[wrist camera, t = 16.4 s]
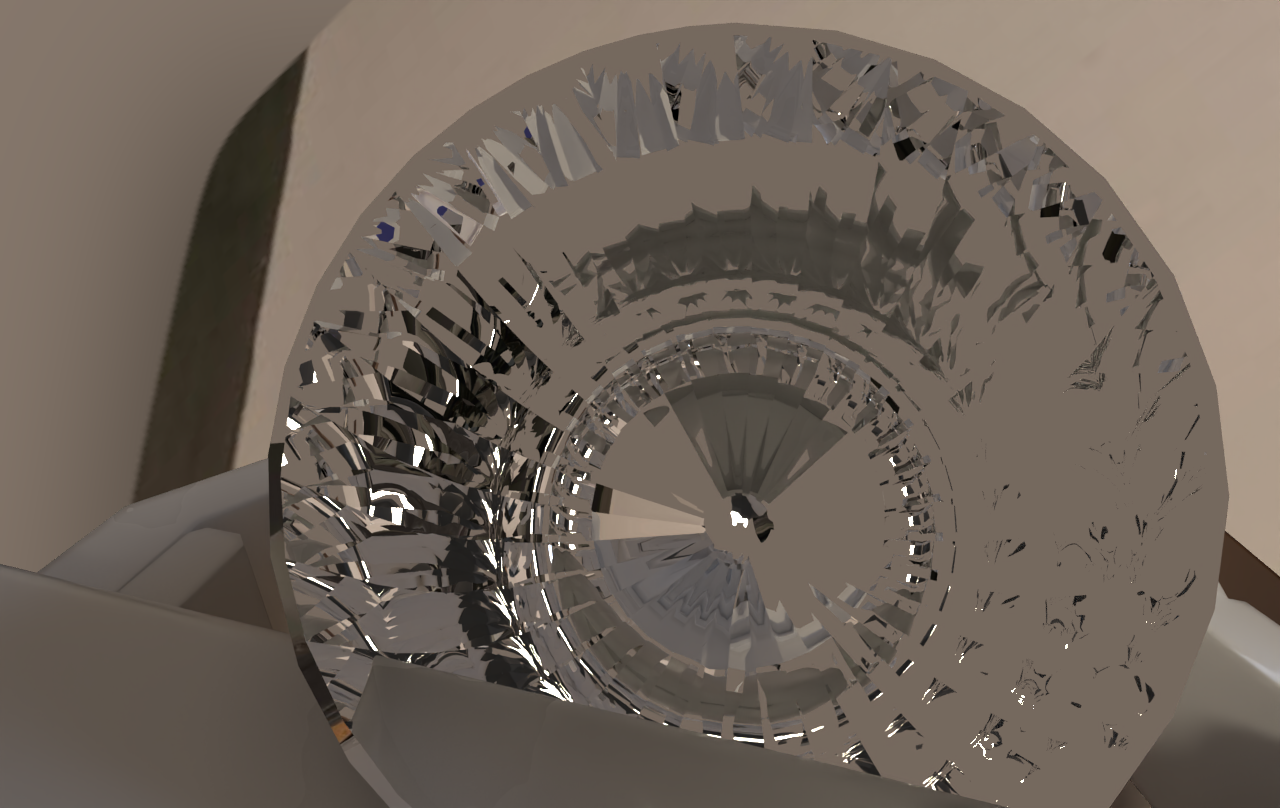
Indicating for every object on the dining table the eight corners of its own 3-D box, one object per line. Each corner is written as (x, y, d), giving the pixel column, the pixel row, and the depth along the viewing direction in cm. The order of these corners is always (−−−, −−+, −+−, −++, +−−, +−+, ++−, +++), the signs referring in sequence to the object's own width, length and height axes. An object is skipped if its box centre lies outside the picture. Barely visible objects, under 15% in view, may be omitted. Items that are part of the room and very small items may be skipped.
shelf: (448, 527, 23) (289, 493, 15) (734, 264, 24) (720, 104, 16) (775, 940, 19) (783, 1174, 11) (1111, 610, 20) (1333, 619, 12)
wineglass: (902, 425, 15) (1312, -88, 4) (895, 727, 14) (1482, 1321, 3) (625, 407, 16) (295, -40, 5) (593, 686, 15) (37, 976, 4)
